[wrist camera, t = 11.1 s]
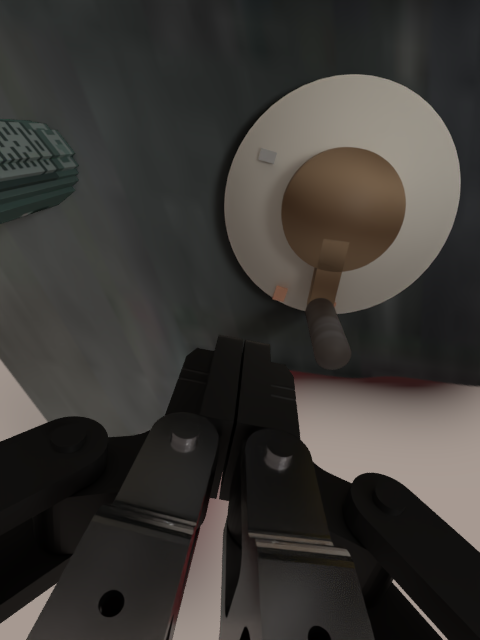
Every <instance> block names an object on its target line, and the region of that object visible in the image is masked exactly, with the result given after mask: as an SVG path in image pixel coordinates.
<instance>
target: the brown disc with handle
mask: <svg viewBox="0 0 480 640" xmlns="http://www.w3.org/2000/svg"><path fill="white" fill-rule="evenodd" d="M405 210H406V196H405V190H404V187H403V184H402V181H401V179H400V177H399V175H398V173H397V172H396V170H395V169H394V167H393V166H392V165H391V164H390V163H389V162H388V161H387V160H385V159H384V158H383V157H381V156H380V155H378V154H376V153H374V152H371V151H369V150H366V149H361V148H355V147H337V148H333V149H329V150H326V151H323V152H321V153H319V154H317V155H315V156H313V157H312V158H310V159H309V160H307V161H306V162H305V163H304V164H303V165H302V166H301V167H300V168H299V169H298V170H297V171H296V172H295V173H294V175H293V176H292V178H291V179H290V181H289V183H288V185H287V187H286V190H285V192H284V195H283V200H282V206H281V219H282V226H283V231H284V234H285V237H286V239H287V241H288V244H289V245H290V247H291V248H292V250H293V251H294V252H295V254H296V255H297V256H298V257H299V258H301V259H302V260H303V261H304V262H306V263H307V264H309V265H311V266H313V267H315V268H314V272H313V277H312V282H311V286H310V291H309V295H308V300H307V307H306V310H305V314H306V319H307V323H308V328H309V333H310V337H311V342H312V346H313V351H314V356H315V360H316V362H317V363H318V364H319V365H320V366H321V367H322V368H325V369H328V370H335V369H339V368H341V367H343V366H345V365H346V364H347V363H348V362H349V360H350V358H351V349H350V346H349V344H348V341H347V339H346V336H345V334H344V331H343V328H342V326H341V323H340V321H339V318H338V316H337V313H336V310H335V308H334V302H335V298H336V294H337V290H338V286H339V282H340V278H341V274H342V272H345V271H351V270H355V269H358V268H361V267H363V266H366V265H368V264H369V263H371V262H373V261H374V260H376V259H377V258H378V257H380V256H381V255H382V254H383V253H384V252H385V251H386V250H387V249H388V248H389V247H390V246H391V245H392V243H393V242H394V240H395V239H396V237H397V235H398V233H399V231H400V229H401V226H402V224H403V221H404V216H405Z"/></svg>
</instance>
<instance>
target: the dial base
mask: <svg viewBox="0 0 480 640" xmlns="http://www.w3.org/2000/svg"><path fill="white" fill-rule="evenodd" d="M337 147H355V148H361V149H366V150H369V151H371V152H374V153H376V154H378V155H380V156H381V157H383V158H384V159H385V160H387V161H388V162H389V163H390V164H391V165H392V166H393V167H394V169H395V170H396V172H397V173H398V175H399V177H400V179H401V181H402V184H403V187H404V190H405V196H406V210H405V216H404V221H403V224H402V226H401V229H400V231H399V233H398V235H397V237H396V239H395V240H394V242H393V243H392V245H391V246H390V247H389V248H388V249H387V250H386V251H385V252H384V253H383V254H382V255H381V256H380V257H378V258H377V259H376V260H374V261H373V262H371V263H369V264H368V265H366V266H363V267H361V268H358V269H355V270H351V271H345V272H342V274H341V278H340V282H339V286H338V290H337V294H336V298H335V302H334V308H335V310H336V313H337V314H342V313H349V312H355V311H359V310H363V309H367V308H369V307H372V306H375V305H377V304H380V303H382V302H384V301H386V300H388V299H390V298H392V297H394V296H395V295H397V294H398V293H400V292H401V291H403V290H404V289H406V288H407V287H408V286H409V285H411V284H412V283H413V282H414V281H415V280H417V279H418V278H419V277H420V276H421V275H422V273H423V272H424V271H425V270H426V269H427V268H428V267H429V266H430V264H431V263H432V262H433V261H434V259H435V258H436V257H437V255H438V254H439V252H440V250H441V249H442V247H443V245H444V244H445V242H446V240H447V238H448V235H449V233H450V231H451V229H452V226H453V223H454V220H455V217H456V213H457V209H458V203H459V198H460V183H461V179H460V167H459V161H458V156H457V152H456V148H455V145H454V143H453V140H452V138H451V135H450V133H449V131H448V129H447V128H446V126H445V124H444V122H443V121H442V119H441V118H440V116H439V115H438V114H437V113H436V112H435V110H434V109H433V108H432V107H431V106H430V105H429V104H428V103H427V102H426V101H425V100H424V99H422V98H421V97H420V96H419V95H418V94H416V93H414V92H413V91H411V90H410V89H408V88H406V87H405V86H403V85H400V84H398V83H396V82H393V81H391V80H388V79H384V78H380V77H376V76H370V75H358V74H352V75H338V76H333V77H328V78H324V79H320V80H317V81H314V82H312V83H309V84H306V85H304V86H302V87H300V88H298V89H296V90H294V91H292V92H291V93H289V94H287V95H286V96H284V97H283V98H282V99H280V100H279V101H277V102H276V103H275V104H273V105H272V106H271V107H270V108H269V109H268V110H267V111H266V112H265V113H264V114H263V115H262V116H261V117H260V118H259V119H258V120H257V121H256V123H255V124H254V125H253V126H252V128H251V129H250V130H249V131H248V133H247V135H246V136H245V138H244V140H243V141H242V143H241V144H240V146H239V148H238V151H237V153H236V155H235V157H234V159H233V162H232V165H231V168H230V171H229V174H228V178H227V184H226V189H225V201H224V212H225V224H226V229H227V234H228V238H229V241H230V244H231V247H232V249H233V252H234V254H235V256H236V258H237V260H238V262H239V263H240V265H241V266H242V268H243V269H244V271H245V272H246V274H247V275H248V276H249V277H250V278H251V280H252V281H253V282H254V283H255V284H256V285H257V286H258V287H259V288H261V289H262V290H263V291H264V292H265V293H267V294H268V295H270V296H271V297H272V299H274V300H277V301H279V302H281V303H283V304H285V305H287V306H290V307H293V308H296V309H299V310H302V311H305V310H306V307H307V300H308V295H309V291H310V286H311V282H312V277H313V272H314V268H315V267H313V266H311V265H309V264H307V263H306V262H304V261H303V260H302V259H301V258H299V257H298V256H297V255H296V254H295V252H294V251H293V250H292V248H291V247H290V245H289V244H288V241H287V239H286V237H285V234H284V231H283V226H282V219H281V206H282V200H283V195H284V192H285V190H286V187H287V185H288V183H289V181H290V179H291V178H292V176H293V175H294V173H295V172H296V171H297V170H298V169H299V168H300V167H301V166H302V165H303V164H304V163H305V162H306V161H307V160H309V159H310V158H312V157H313V156H315V155H317V154H319V153H321V152H323V151H326V150H329V149H333V148H337Z"/></svg>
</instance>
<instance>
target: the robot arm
mask: <svg viewBox="0 0 480 640" xmlns="http://www.w3.org/2000/svg"><path fill="white" fill-rule="evenodd" d="M242 347H243V339H238V338H233V337H228V336H223V335H219V336H218V340H217V344H216V348H215V351H210V350H205V349H200V348H197V349H195V350H194V351H193V352H191V353H190V354H189V355H187V356H186V359H185V362H184V364H183V367H182V370H181V373H180V375H179V379H178V381H177V384H176V386H175V389H174V392H173V395H172V397H171V400H170V403H169V406H168V408H167V411H166V414H165V416H163V417H161V418H160V419H158V420H157V421H156V422H155V423H154V425H153V426H152V428H151V430H149V431H147V432H145V433H142V434H138V435H134V436H123V437H108V434H107V432H106V430H105V428H104V427H103V426H102V425H101V424H100V423H98V422H96V421H95V420H92V419H89V418H85V417H78V416H74V417H63V418H59V419H56V420H53V421H50V422H48V423H45V424H43V425H40V426H38V427H35V428H33V429H31V430H28V431H26V432H23V433H21V434H18V435H16V436H13V437H11V438H8V439H6V440H4V441H1V442H0V623H2V622H3V621H4V620H6V619H7V618H9V617H10V616H11V615H13V614H14V613H16V612H17V611H18V610H20V609H21V608H23V607H24V606H25V605H27V604H28V603H30V602H31V601H32V600H34V599H35V598H36V597H38V596H39V595H41V594H42V593H43V592H45V591H46V590H48V589H49V588H50V587H52V586H53V585H55V584H56V583H57V584H56V586H55V588H54V590H53V592H52V593H51V595H50V597H49V599H48V601H47V602H46V604H45V606H44V608H43V610H42V612H41V613H40V615H39V617H38V619H37V621H36V623H35V624H34V626H33V628H32V630H31V632H30V634H29V635H28V638H27V639H26V640H172V638H173V634H174V630H175V626H176V621H177V618H178V614H179V610H180V605H181V601H182V598H183V594H184V589H185V586H186V582H187V578H188V574H189V570H190V566H191V562H192V558H193V554H194V550H195V547H196V542H197V539H198V535H199V531H200V526H201V524H202V523H203V521H204V519H205V516H206V512H207V508H208V503H209V499H210V498H215V499H216V498H217V493H218V489H219V485H220V480H221V476H222V481H221V489H220V496H219V499H221V500H226V501H229V506H228V516H227V520H226V523H225V527H224V532H223V555H222V587H221V589H222V590H221V621H220V634H219V640H443V639H442V638H441V637H440V636H439V635H438V634H437V632H436V631H435V630H434V629H433V628H432V627H431V626H430V625H429V624H428V622H427V621H426V620H425V619H424V618H423V617H422V616H421V615H420V613H419V612H418V611H417V610H416V609H415V608H414V607H413V605H412V604H411V603H410V602H409V601H408V600H407V599H406V598H405V596H404V595H403V594H402V593H401V592H400V591H399V590H398V589H397V587H396V586H395V585H394V584H393V583H392V581H393V579H394V580H395V581H396V582H397V583H398V584H399V585H400V587H402V589H403V590H404V591H405V592H406V593H407V594H408V595H409V597H410V598H411V599H412V600H413V601H414V602H415V603H416V604H417V605H418V606H419V608H420V609H421V610H422V611H423V612H424V613H425V614H426V615H427V617H428V618H429V619H430V620H431V621H432V622H433V623H434V624H435V625H436V626H437V628H438V629H439V630H440V631H441V632H442V633H443V634H444V635H445V637H446V638H447V639H448V640H480V552H479V551H477V550H476V549H475V548H474V547H473V546H472V545H471V544H470V543H468V542H467V541H466V540H465V539H464V538H463V537H462V536H461V535H459V534H458V533H457V532H456V531H455V530H454V529H453V528H452V527H450V526H449V525H448V524H447V523H446V522H445V521H444V520H442V519H441V518H440V517H439V516H438V515H437V514H436V513H435V512H433V511H432V510H431V509H430V508H429V507H428V506H427V505H426V504H424V503H423V502H422V501H421V500H420V499H419V498H418V497H417V496H416V495H414V494H413V493H412V492H411V491H410V490H409V489H407V488H406V487H405V486H404V485H403V484H401V483H400V482H398V481H396V480H395V479H393V478H391V477H388V476H385V475H382V474H378V473H365V474H361V475H359V476H358V477H356V478H355V479H354V481H353V483H350V482H347V481H345V480H343V479H341V478H339V477H336V476H334V475H332V474H330V473H328V472H326V471H324V470H323V469H321V468H320V467H318V466H317V465H316V464H315V463H314V462H313V461H312V457H311V454H310V451H309V450H308V448H307V447H306V445H305V444H304V443H303V442H302V441H301V440H300V432H299V422H298V413H297V405H296V396H295V391H294V390H295V386H294V377H293V375H292V374H291V372H290V371H289V370H288V368H287V367H286V365H283V364H278V363H273V362H270V345H269V344H264V343H259V342H254V341H249V340H245V343H244V347H243V351H242ZM222 472H223V473H222Z"/></svg>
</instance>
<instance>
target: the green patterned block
mask: <svg viewBox="0 0 480 640" xmlns="http://www.w3.org/2000/svg"><path fill="white" fill-rule="evenodd" d="M74 154H75V153H74V151H73V150H72V149H71V147H70V146H69V145H68V144H67V142H66V141H65V140H64V138H63V137H62V136H61V135H60V133H59V132H58V131H57V130H50V128H49V127H48V126H47V125H46V124H40V123H39V122H32V121H26V120H10V119H0V224H2V223H5V222H8V221H11V220H14V219H17V218H20V217H23V216H26V215H29V214H32V213H35V212H38V211H41V210H44V209H47V208H50V207H53V206H56V205H59V204H60V203H61V202H62V201H63V200H65V199H66V198H67V197H68V196H69V195H70V194H72V193H73V192H74V191H75V189H74V188H73V187H72V186H73V185H74V184H75V183H76V182H77V181H79V180H78V179H77V177H76V175H77V174H78V171H77V170H76V169H75V168H77V167H78V166H79V165H78V164H77V163H76V161H75V160H74V159H73V158H72V156H73V155H74Z"/></svg>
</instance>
